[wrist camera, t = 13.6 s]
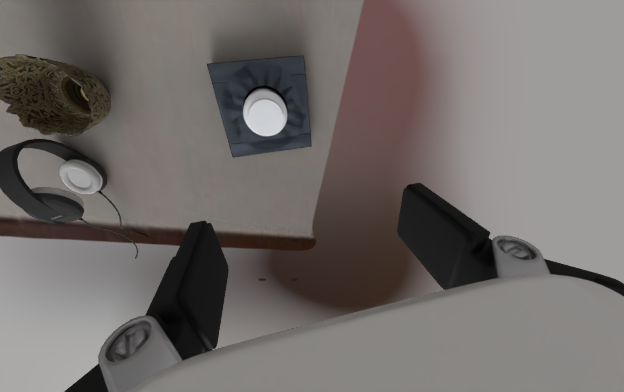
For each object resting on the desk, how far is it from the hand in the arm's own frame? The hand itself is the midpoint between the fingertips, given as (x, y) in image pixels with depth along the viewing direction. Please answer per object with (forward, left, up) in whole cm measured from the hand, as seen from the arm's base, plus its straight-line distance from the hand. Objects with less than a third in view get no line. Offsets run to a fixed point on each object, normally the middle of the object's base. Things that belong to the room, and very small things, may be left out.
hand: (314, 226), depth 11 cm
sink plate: (-2, -2, -28) cm, 28 cm away
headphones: (+8, -28, -28) cm, 40 cm away
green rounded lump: (-6, -23, -28) cm, 36 cm away
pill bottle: (-2, -2, -28) cm, 28 cm away
